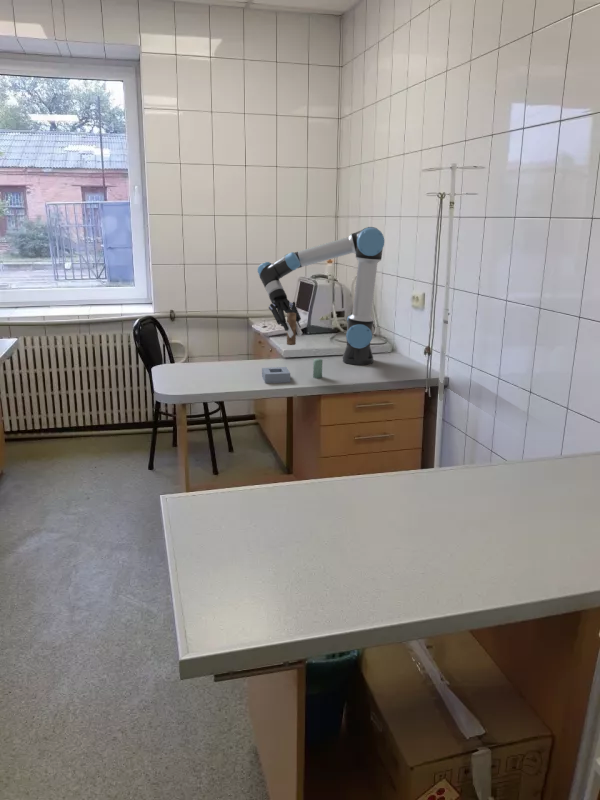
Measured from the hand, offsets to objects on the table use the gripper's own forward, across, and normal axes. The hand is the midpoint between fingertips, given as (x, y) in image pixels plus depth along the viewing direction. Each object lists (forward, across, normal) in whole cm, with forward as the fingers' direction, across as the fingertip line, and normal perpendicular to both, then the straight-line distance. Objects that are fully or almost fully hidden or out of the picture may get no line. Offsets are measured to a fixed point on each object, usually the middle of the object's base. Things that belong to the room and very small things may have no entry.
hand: (296, 335), depth 274 cm
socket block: (+13, +10, -13) cm, 21 cm away
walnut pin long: (+1, 0, -6) cm, 6 cm away
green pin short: (+18, -7, -8) cm, 21 cm away
